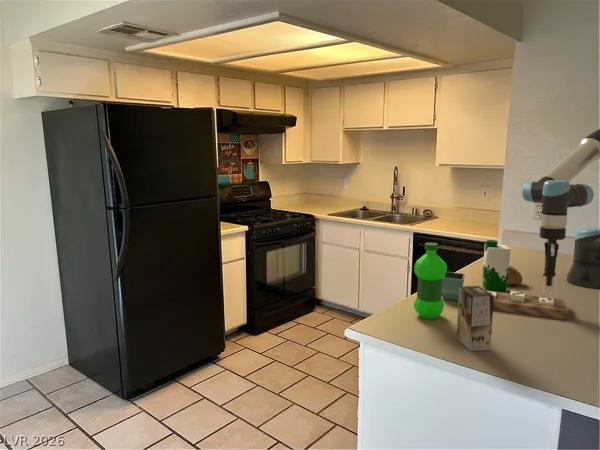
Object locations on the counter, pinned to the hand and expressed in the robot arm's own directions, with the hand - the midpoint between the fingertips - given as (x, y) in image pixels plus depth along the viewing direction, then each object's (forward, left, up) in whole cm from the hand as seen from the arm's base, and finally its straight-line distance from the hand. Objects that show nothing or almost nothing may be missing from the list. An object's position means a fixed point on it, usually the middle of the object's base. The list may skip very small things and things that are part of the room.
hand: (547, 293), depth 150 cm
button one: (+16, -9, -6) cm, 19 cm away
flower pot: (+27, -16, -6) cm, 32 cm away
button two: (0, 0, -6) cm, 6 cm away
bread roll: (-2, -32, -7) cm, 33 cm away
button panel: (+8, -4, -6) cm, 11 cm away
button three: (+8, -4, -5) cm, 10 cm away
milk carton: (+6, -23, -6) cm, 25 cm away
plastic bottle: (+42, +1, -6) cm, 43 cm away
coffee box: (+37, +23, -6) cm, 44 cm away
